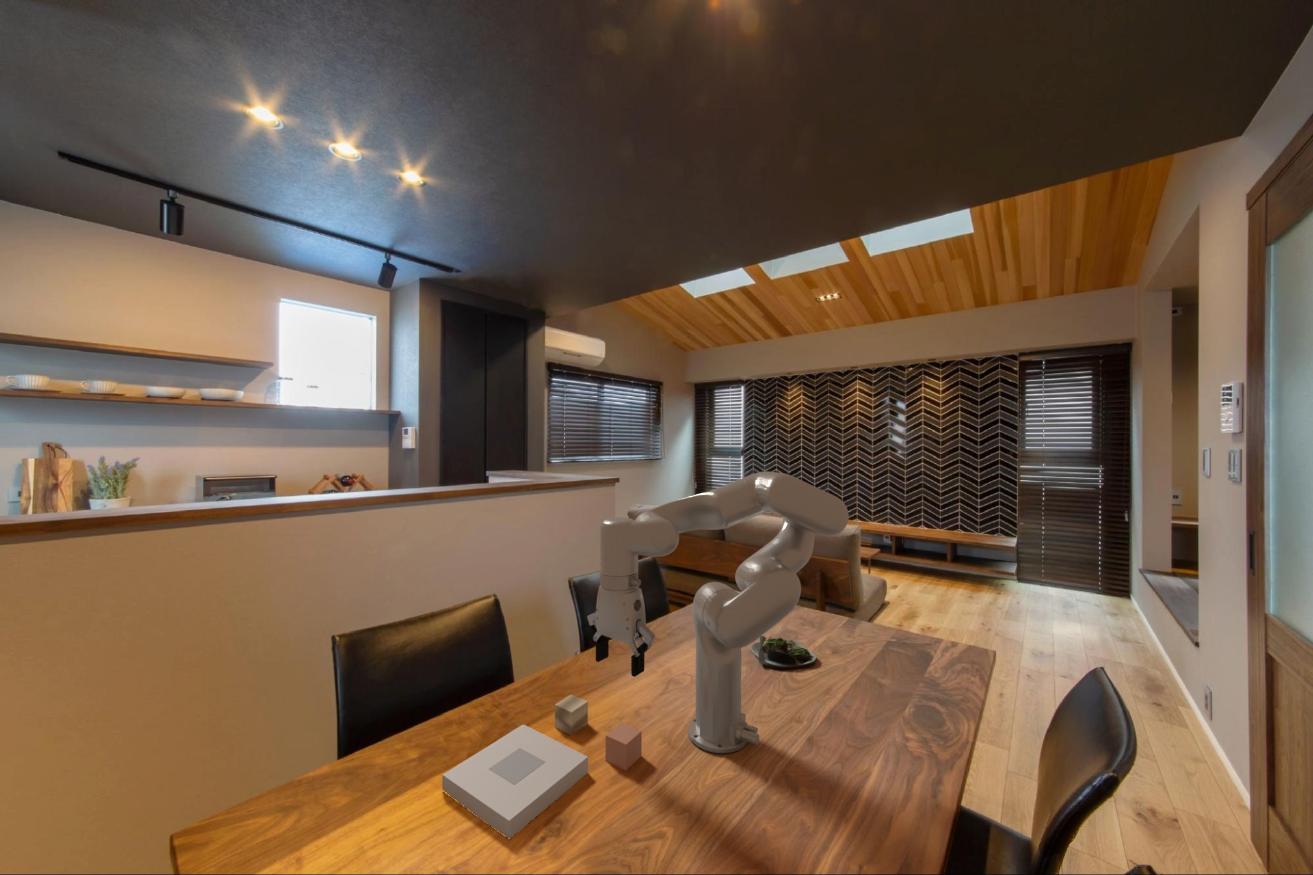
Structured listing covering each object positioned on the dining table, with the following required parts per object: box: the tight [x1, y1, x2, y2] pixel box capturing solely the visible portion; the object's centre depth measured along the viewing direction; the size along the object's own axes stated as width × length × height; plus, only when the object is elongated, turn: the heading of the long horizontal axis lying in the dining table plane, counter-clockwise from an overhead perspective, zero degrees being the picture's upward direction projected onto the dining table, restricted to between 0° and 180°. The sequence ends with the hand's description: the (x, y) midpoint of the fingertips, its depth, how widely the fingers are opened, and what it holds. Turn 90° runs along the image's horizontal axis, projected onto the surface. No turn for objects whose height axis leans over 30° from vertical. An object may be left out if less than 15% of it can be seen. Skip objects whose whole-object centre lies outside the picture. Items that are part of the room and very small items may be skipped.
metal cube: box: [554, 694, 589, 736], centre depth 103 cm, size 5×5×5 cm
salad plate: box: [750, 635, 817, 671], centre depth 138 cm, size 19×18×5 cm
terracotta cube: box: [605, 722, 643, 772], centre depth 92 cm, size 5×5×5 cm
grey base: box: [441, 724, 589, 839], centre depth 86 cm, size 18×18×3 cm
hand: (619, 666), depth 94 cm, fingers open, 9 cm apart
